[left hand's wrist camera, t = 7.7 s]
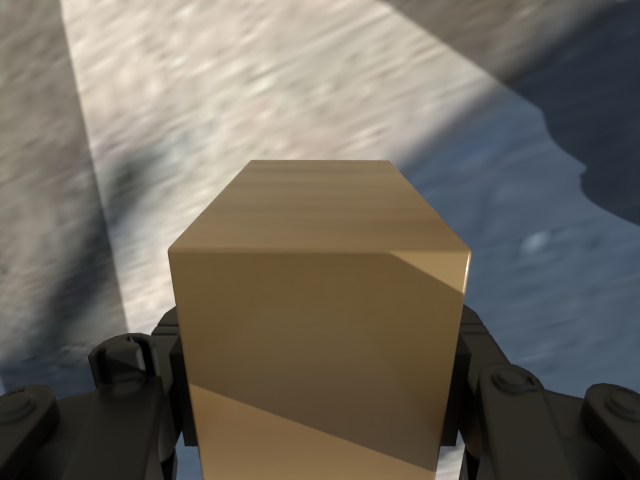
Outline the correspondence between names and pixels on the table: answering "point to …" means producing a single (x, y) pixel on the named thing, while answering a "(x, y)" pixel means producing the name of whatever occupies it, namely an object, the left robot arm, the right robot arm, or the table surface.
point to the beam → (319, 323)
